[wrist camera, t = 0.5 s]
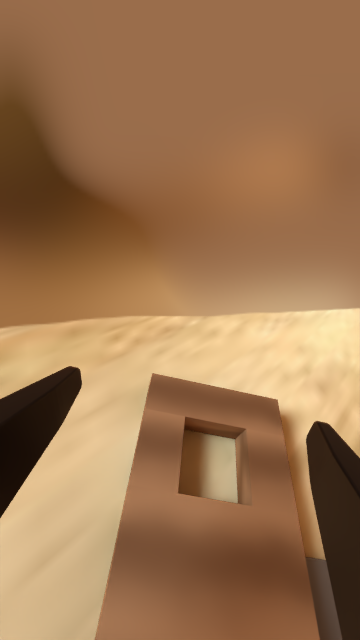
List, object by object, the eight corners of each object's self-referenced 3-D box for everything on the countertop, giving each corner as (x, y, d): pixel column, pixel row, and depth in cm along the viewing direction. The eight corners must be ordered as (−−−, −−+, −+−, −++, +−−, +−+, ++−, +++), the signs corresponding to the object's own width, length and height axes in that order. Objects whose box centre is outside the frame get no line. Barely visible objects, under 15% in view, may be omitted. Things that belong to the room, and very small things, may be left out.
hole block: (354, 1069, 10) (419, 1201, 8) (1, 1074, 9) (-30, 1230, 7) (265, 411, 30) (277, 399, 28) (148, 387, 29) (152, 373, 27)
